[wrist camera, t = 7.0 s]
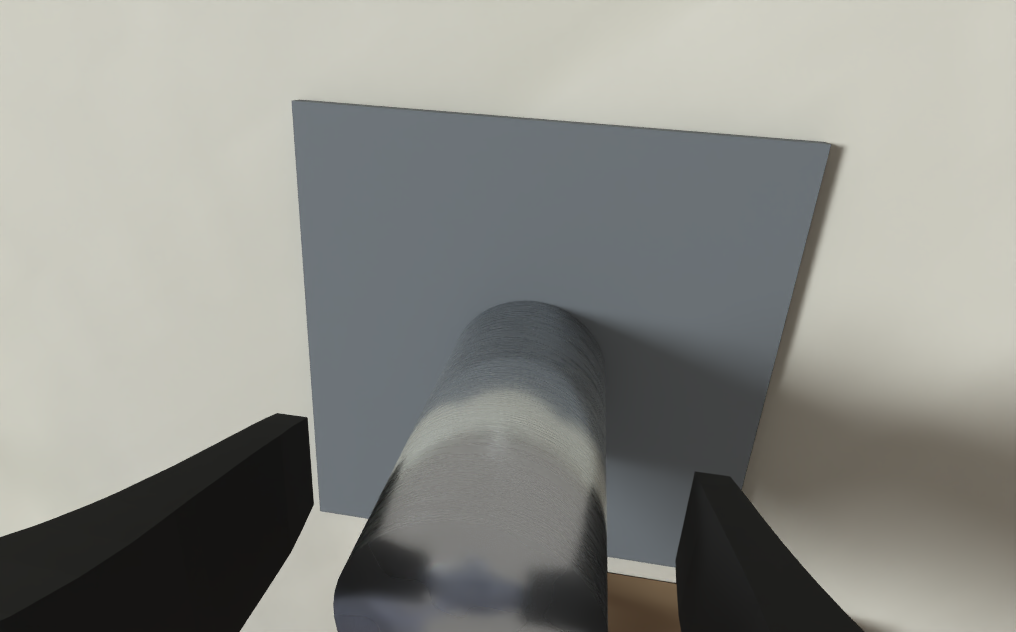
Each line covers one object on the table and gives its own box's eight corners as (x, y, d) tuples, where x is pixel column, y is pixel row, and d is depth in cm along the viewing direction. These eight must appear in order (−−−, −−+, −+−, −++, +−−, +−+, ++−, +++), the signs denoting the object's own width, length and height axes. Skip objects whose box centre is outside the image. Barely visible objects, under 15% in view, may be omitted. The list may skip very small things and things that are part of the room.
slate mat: (325, 502, 20) (320, 511, 19) (299, 99, 15) (291, 100, 14) (717, 564, 18) (719, 574, 18) (825, 142, 13) (831, 144, 13)
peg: (455, 431, 17) (348, 708, 10) (449, 297, 16) (317, 508, 8) (600, 442, 17) (600, 742, 9) (609, 304, 15) (617, 536, 8)
